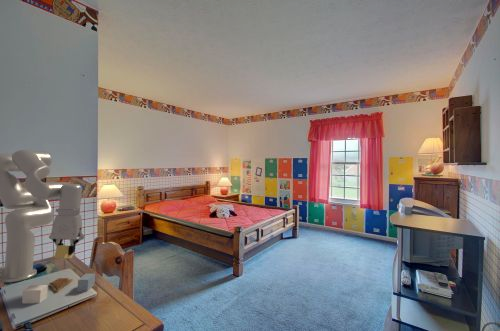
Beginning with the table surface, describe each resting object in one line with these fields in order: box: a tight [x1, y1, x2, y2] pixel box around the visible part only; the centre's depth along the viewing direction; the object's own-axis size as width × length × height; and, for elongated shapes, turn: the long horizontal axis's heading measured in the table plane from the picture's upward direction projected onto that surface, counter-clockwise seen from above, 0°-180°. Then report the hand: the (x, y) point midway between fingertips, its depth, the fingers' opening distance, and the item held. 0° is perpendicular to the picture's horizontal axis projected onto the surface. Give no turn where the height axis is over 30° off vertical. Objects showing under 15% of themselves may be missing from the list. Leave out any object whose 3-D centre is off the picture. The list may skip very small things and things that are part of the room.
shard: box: [48, 277, 74, 293], centre depth 103 cm, size 11×8×2 cm
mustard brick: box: [53, 244, 74, 259], centre depth 102 cm, size 6×4×5 cm, turn 9°
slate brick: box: [76, 273, 96, 293], centre depth 103 cm, size 6×4×5 cm, turn 9°
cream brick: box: [21, 284, 49, 304], centre depth 92 cm, size 6×4×5 cm, turn 99°
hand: (65, 253), depth 103 cm, fingers closed on mustard brick, 4 cm apart
